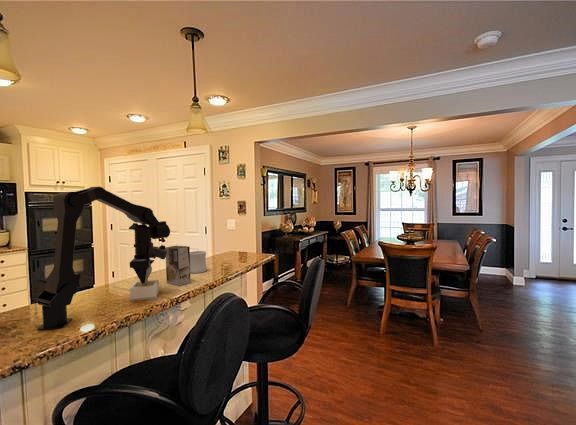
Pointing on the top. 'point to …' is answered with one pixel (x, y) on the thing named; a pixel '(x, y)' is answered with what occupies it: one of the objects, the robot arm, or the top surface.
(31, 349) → the top surface
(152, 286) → the white hollow square box
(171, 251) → the coffee box
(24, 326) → the top surface
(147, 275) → the light bulb
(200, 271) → the mug
